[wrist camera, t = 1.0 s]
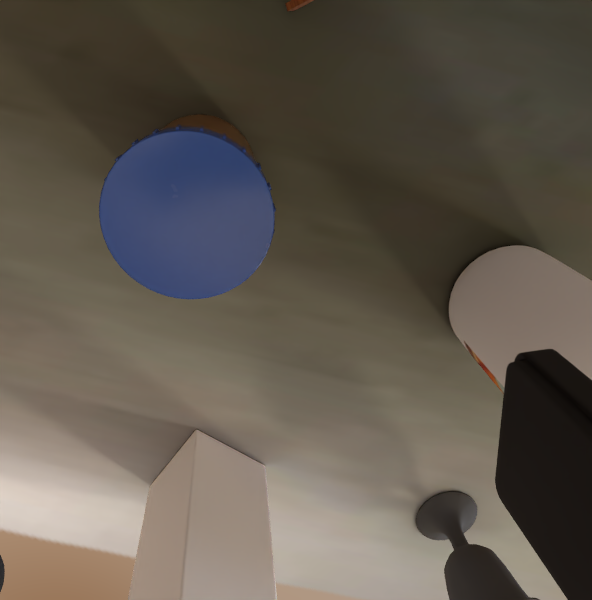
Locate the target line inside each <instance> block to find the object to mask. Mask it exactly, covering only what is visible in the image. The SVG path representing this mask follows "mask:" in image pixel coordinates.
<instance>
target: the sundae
mask: <svg viewBox="0 0 592 600" xmlns="http://www.w3.org/2000/svg"><path fill="white" fill-rule="evenodd" d="M476 516H477V506H476V503H475V502H474V500H473V499H472V498H471V497H470V496H468V495H466V494H464V493H459V492H446V493H442V494H438V495H436V496H434V497H432V498H431V499H429V500H428V501H427V502H426V503H425V504H424V505H423V506H422V507H421V508H420V510H419V512H418V514H417V518H416V523H417V528H418V529H419V531H420V532H421V533H422V534H423V535H424V536H426V537H428V538H430V539H433V540H446V539H449V540H450V542H451V543H452V546H453V548H454V551H453V552H452V553H451V554H450V556H449V558H448V560H447V562H446V565H445V568H444V573H445V579H446V586H447V591H448V595H449V599H450V600H539V599H537V598H529V597H528V596H527V595H526V593H525V592H524V591H523V590H522V588H521V587H520V586H519V584H518V583H517V582H516V580H515V579H514V577H513V576H512V575H511V573H510V572H509V570H508V569H507V568H506V566H505V565H504V564H503V562H502V561H501V560H500V559H499V558H498V557H497V555H496V554H495V553H494V552H493V551H492V550H490V549H488V548H486V547H483V546H480V545H476V544H468V542H467V540H466V538H465V536H464V534H463V533H465V532H466V531H467V530H468V529H469V528H470V527H471V526H472V525H473V523H474V521H475V519H476Z"/></svg>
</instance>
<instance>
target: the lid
mask: <svg viewBox="0 0 592 600" xmlns="http://www.w3.org/2000/svg"><path fill="white" fill-rule="evenodd" d="M132 145H133V146H132V147H131V148H129V149H128V150H127V151H126V152H125V153H124V154H122V155H120V156H119V157H117V158H116V160H115V161H116V162H115V164H114V165H113V167H112V168H111V170H110V171H109V173H108V175H107V177H106V178H105V180H104V181H105V182H104V185H103V188H102V192H101V197H100V204H99V217H100V225H101V230H102V233H103V237H104V240H105V242H106V244H107V247H108V249H109V251H110V252H111V254H112V256H113V257H114V259H115V260H116V262H117V263H118V264H119V265H120V267H121V268H122V269H123V270H124V271H125V272H126V273H127V274H128V275H129V276H130V277H132V278H133V279H134V280H135V281H137V282H138V283H140V284H141V285H143V286H145V287H146V288H148V289H150V290H152V291H155V292H157V293H160V294H163V295H166V296H170V297H174V298H181V299H201V298H208V297H212V296H216V295H220V294H222V293H225V292H227V291H229V290H231V289H233V288H235V287H237V286H238V285H240V284H241V283H242V282H244V281H245V280H246V279H248V278H249V277H250V276H251V275H252V274H253V273H254V272H255V270H256V269H257V268H258V267H259V265H260V264H261V263H262V261H263V259H264V257H265V256H266V254H267V252H268V249H269V247H270V244H271V240H272V237H273V233H274V212H276V209H275V206H274V203H273V201H272V197H271V194H270V190H271V186H270V183H267V181H266V179H265V177H264V174H263V173H262V171H261V165H260V164H259V163H258V164H257V163H256V162H255V160H254V159H253V158H252V157H251V155H250V154H249V153H248V152H247V151H246V148H245V147H244V146H243V147H241V146H240V145H238V144H237V143H236V142H234V141H233V140H231V139H229V138H228V137H226V134H225V133H224V134H223V135H222V134H219V133H217V132H215V131H211V130H208V129H204V126H201V128H198V127H181V124H178V125H177V126H176V127H173V128H167V129H163V130H160V131H159V130H158V129H156V130H154V131H153V132H152V134H150V135H148V136H146V137H144V138H143V139H141V140H138V139H137V140H135V141H134V142H133V143H132Z"/></svg>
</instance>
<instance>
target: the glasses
mask: <svg viewBox="0 0 592 600" xmlns="http://www.w3.org/2000/svg"><path fill="white" fill-rule="evenodd" d="M312 1H314V0H291V1H289V2H287V3H285V4H286V7H287V11H295V10H297V9H299V8H300V7H302V6H304V5H306V4H308V3H310V2H312Z"/></svg>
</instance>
